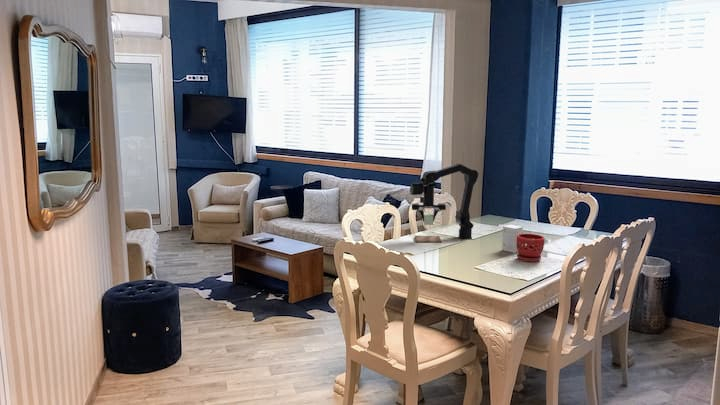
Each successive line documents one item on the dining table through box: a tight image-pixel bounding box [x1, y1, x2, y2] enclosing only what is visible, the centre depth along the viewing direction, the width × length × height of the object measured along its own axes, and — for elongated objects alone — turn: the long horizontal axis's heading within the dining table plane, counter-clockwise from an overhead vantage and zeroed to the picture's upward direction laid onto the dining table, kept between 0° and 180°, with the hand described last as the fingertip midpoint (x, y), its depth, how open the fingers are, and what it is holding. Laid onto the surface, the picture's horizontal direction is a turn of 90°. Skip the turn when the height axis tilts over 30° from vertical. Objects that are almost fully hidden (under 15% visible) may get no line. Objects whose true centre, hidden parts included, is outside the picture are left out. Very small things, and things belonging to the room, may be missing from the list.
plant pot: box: [516, 233, 546, 263], centre depth 274 cm, size 13×13×12 cm
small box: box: [501, 224, 524, 254], centre depth 290 cm, size 8×6×13 cm
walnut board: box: [414, 235, 442, 244], centre depth 314 cm, size 14×12×1 cm
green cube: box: [423, 213, 434, 226], centre depth 312 cm, size 5×5×5 cm
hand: (428, 221), depth 313 cm, fingers closed on green cube, 5 cm apart
